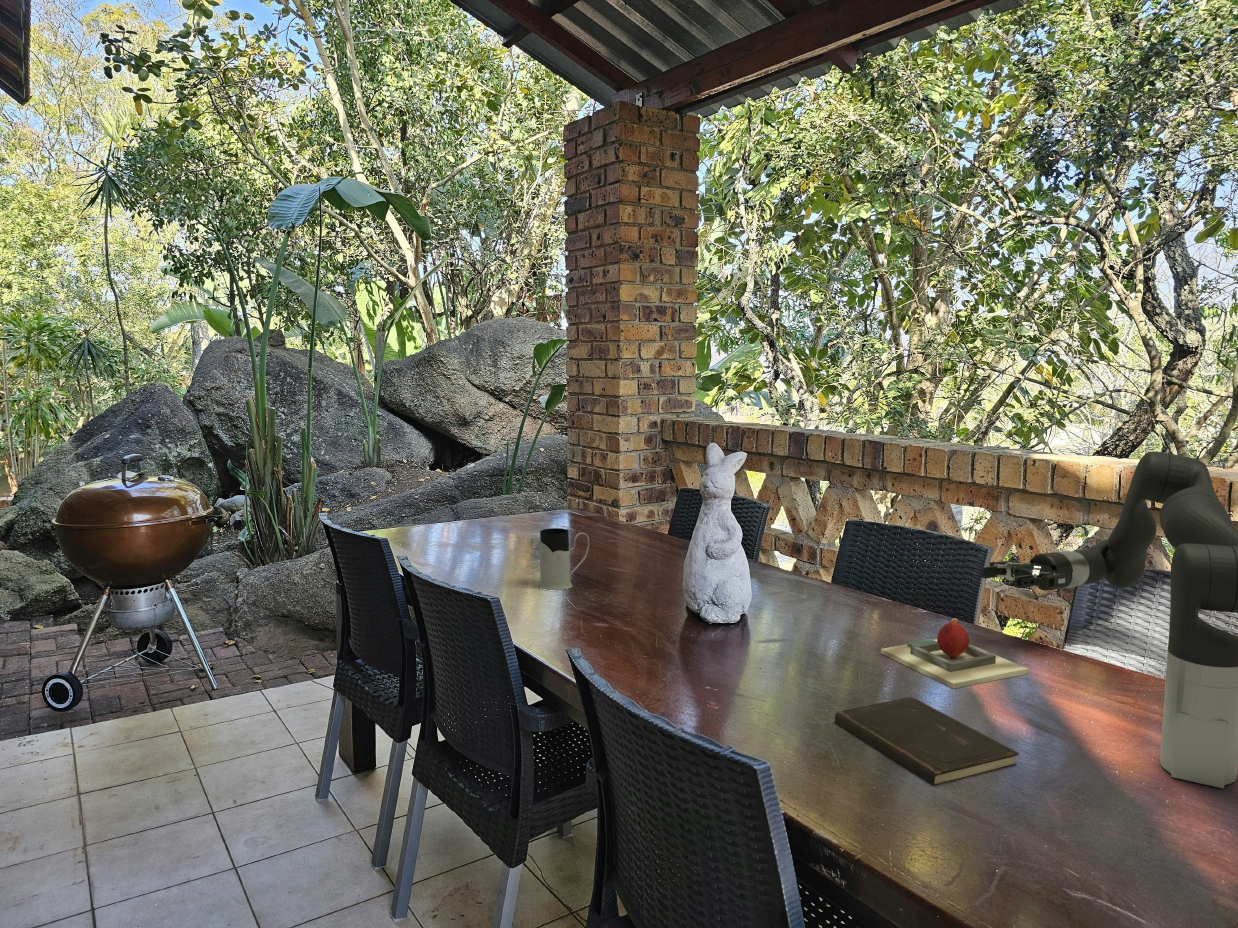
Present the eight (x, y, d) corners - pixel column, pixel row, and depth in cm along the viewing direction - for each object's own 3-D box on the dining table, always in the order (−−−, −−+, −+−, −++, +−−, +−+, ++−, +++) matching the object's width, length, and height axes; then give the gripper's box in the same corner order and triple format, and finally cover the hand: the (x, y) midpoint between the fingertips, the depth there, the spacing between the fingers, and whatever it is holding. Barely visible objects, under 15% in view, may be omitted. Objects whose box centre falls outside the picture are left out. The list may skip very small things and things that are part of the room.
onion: (948, 664, 164) (950, 624, 163) (930, 654, 170) (931, 615, 169) (974, 661, 166) (976, 621, 165) (955, 651, 171) (957, 612, 170)
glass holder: (534, 584, 229) (533, 529, 227) (583, 578, 235) (582, 524, 233) (545, 592, 221) (544, 535, 219) (596, 585, 227) (595, 530, 225)
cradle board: (1028, 673, 162) (1028, 660, 162) (953, 688, 155) (953, 675, 155) (950, 641, 180) (951, 629, 180) (881, 653, 174) (881, 641, 173)
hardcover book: (911, 708, 148) (911, 696, 148) (1018, 767, 127) (1019, 752, 127) (834, 725, 142) (834, 711, 142) (933, 789, 121) (933, 773, 121)
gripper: (1031, 545, 182) (971, 552, 176) (1090, 559, 169) (1028, 566, 162) (1029, 580, 182) (970, 587, 176) (1088, 596, 169) (1026, 605, 163)
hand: (998, 577), depth 169 cm, fingers open, 8 cm apart
